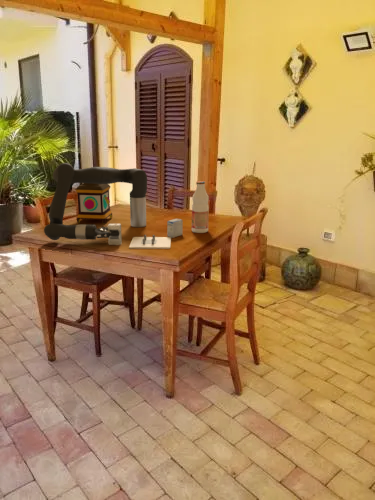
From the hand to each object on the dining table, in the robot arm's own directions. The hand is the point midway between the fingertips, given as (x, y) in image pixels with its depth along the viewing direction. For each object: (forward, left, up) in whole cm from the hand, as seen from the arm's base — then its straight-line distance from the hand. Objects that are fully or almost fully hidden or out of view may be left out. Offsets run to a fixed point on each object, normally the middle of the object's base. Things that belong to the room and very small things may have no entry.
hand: (119, 232), depth 205 cm
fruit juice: (-26, +41, -6) cm, 49 cm away
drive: (0, -3, -6) cm, 7 cm away
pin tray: (-1, +15, -6) cm, 17 cm away
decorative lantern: (-50, -23, -6) cm, 55 cm away
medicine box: (-16, +27, -6) cm, 32 cm away
